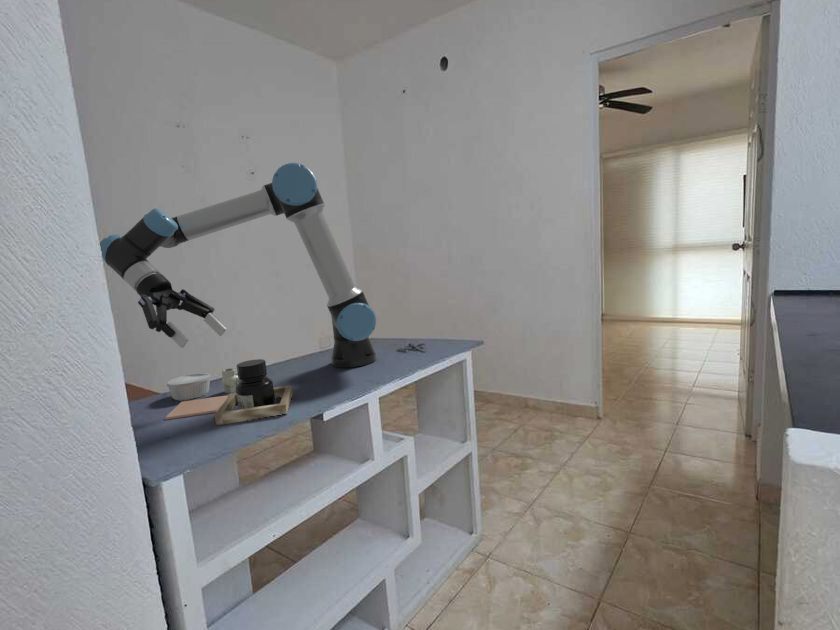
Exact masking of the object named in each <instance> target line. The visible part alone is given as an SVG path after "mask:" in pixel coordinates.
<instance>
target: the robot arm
mask: <svg viewBox="0 0 840 630" xmlns="http://www.w3.org/2000/svg"><path fill="white" fill-rule="evenodd" d="M321 195H322V194H321V193H320V190H319V188H318V180H317V178H316V176H315V174H314V173H313V172H312V170H311V169H309V168H308V167H307V165H306V166H305V165H303V164H302V163H298V162H288V163H285V164H283V165H281V166H279V168H277V169H276V171H275V173H274V174H273V177H272V179H271V182H270V183H267V184H264V185H262V187H261V189H260V190H257V191H256V190H255V191H253V192H250V193H248V194H244V195H241V196H238V197H234V198H231V199H228V200H225V201H222V202H218V203H215V204H212V205H211V204H210V205H209V206H205V207H203V208H199V209H195V210H193V211H188V212H187V213H183V214H181V215H177V216H174V217H171V216H169V215H168V214H167V213H165V211H163V210H161V209H160V208H157V207H156V208H152V209H150V211H148V213H146V214H143V215H144V216H142V218H141V219H140V220H139V221H138V222H137V223H136V224H135V225H134V226H133V227H131V229H129V230H128V231H127V232H126V233H125V234H124V235H120V234H111V235H108V237H104V238H102V240H101V241H99V243H100V246H101V251H102V257H103V258H102V257H101V258H102V260H103V261H104V262H105V264H106V266H109V267H110V268H111V269H112V270H113V271H114V272H115V273H116V274H117V275H119V276H120V278H121V279H122V280H124V281H125V282H126V284H128V285H129V286H130V287H131V288H132V289H133V290H134V291H135V292H136V293H137V295H139V296H140V298H139V300H138V302H137V304H138V305H139V306H140V307H141V308H142V312H143V314H144V317H145V321H146V323H147V327H148V328H149V329H150V330H154V329H155V331H156V332H157V333H161V332H163V333H164V334H165V335H166V336H167V337H168V338H170V339H171V340H172V341H174V343H176V344H177V345H178V347H180V348H181V349H183V348H185V347H186V345H187V344H188V341H189V340H190V339H189V338H188V337H187V336H186V334H184V333H183V332H182V331H181V330H180V329H179V328H178V327H177V326H176V325H175V323H173V322H172V321H168V320H167V319H168V318H167V316H168V315H167V313H168V312H167V311H169V310H179V311H181V310H182V311H185V312H189V313H191V314H194V315H195V316H198V317H200V318H203V321H204V322H205V323H206V324H207V325H208V326H209V327H210V328H211V329H212V330H213V331H214V332H215V333H216V334H217V335H218V336H219V337H221V336H223V335H224V334H225V332H226V331H227V329H228V328H227V327H225V325H223V323H222V322H221V321H220V320H219V319H218V318H217V317H216V316H215V315H214V314H213V313H214V312H215V308H214V307H213V306H212V305H210V304H208V303H206V302H204V301H202V300H200V299H199V298H198V297H195V296H194V295H192V294H190V293H189V292H188V291H187V290H185V289H183V288H182V289H181V290H180V292H177V291H176V290H174V289H173V287H172V283H171V281H170V280H169V279H167V278H166V277H165V276H164V274H162V273H161V271H159V269H157V267H155V266H154V265H153V264H152V263H151V262H150V261H149V260H148V258H149V257H151V255H152V254H153V253H154V252H156V250H157V249H159V248H160V247H161V248H165V249H170V248H175V247H177V246H179V245H180V244H184V243H186V242H188V241H191V240H195V239H197V238H201V237H205V236H207V235H210V234H213V233H217V232H219V231H222V230H225V229H228V228H231V227H235V226H237V225H241V224H243V223H247V222H249V221H250V222H251V221H253V220H256V219H260V218H264V217H265V216H269V215H272V216H275V217H277V216H280V215H284V216H285V217H286V220H287V221H289V222H292V223H293V224H294V225H295V227H296V229H297V232H298V233H299V236H300V238H301V240H302V243H303V245H304V247H305V249H306V252H307V253H308V255H309V257H310V259H311V262H312V264H313V266H314V269H315V270H316V273H317V275H318V277H319V279H320V281H321V283H322V286H323V288H324V290H325V292H326V294H327V297H328V300H327V304H326V306H327V309H328V311H329V313H330V316H331V317H330V318H331V324H332V331H333V332H332V333H333V339H334V342H333V348H332V353H331V359H330V361H331V365H332V366H333V367H336V368H344V369H345V368H357V367H362V366H366V365H369V364H372V363H374V362H375V361H376V360H377V354H376V351H375V349H374V346H373V344H372V342H371V340H370V338H369V337H370V336H371V334H372V333H373V332H374V331H375V329H376V326H377V325H376V324H377V317H376V313H375V311H374V310H373V309H372V307H371V306H370V304H369V302H368V301H367V298H366V296H365V294H364V291H363V289H361V288H358V287H357V286H355V282H354V281H353V279H352V277H351V274H350V272H349V269H348V267H347V265H346V262H345V260H344V258H343V256H342V253H341V251H340V249H339V247H338V245H337V243H336V240H335V238H334V235H333V233H332V232H331V229H330V226H329V224H328V223H327V222H328V221H327V220H326V217H325V215H324V213H323V211H324V208H325V205H326V204H325V202H324V200H323V198H322V196H321ZM155 308H156V309H155Z"/></svg>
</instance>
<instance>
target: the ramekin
mask: <svg viewBox="0 0 840 630" xmlns="http://www.w3.org/2000/svg"><path fill="white" fill-rule="evenodd" d="M210 381H211V375H210V373H206V372H205V373H203V372H201V373H192V374H185V375H181V376H177V377H175V378H172V379H170V380H168V381H167V382H166V387H167V388H168V391H169V393H170V395H171V398H172V399H174V401H177V400H178V401H180V402H183V400H184V401H190V399H191V400H195V399H198V397H199V398H201V396H202V397H203V395H204V396H206V395H207V394H208V393H209V391H210V385H211V383H210ZM205 394H206V395H205ZM194 398H195V399H194Z"/></svg>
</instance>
